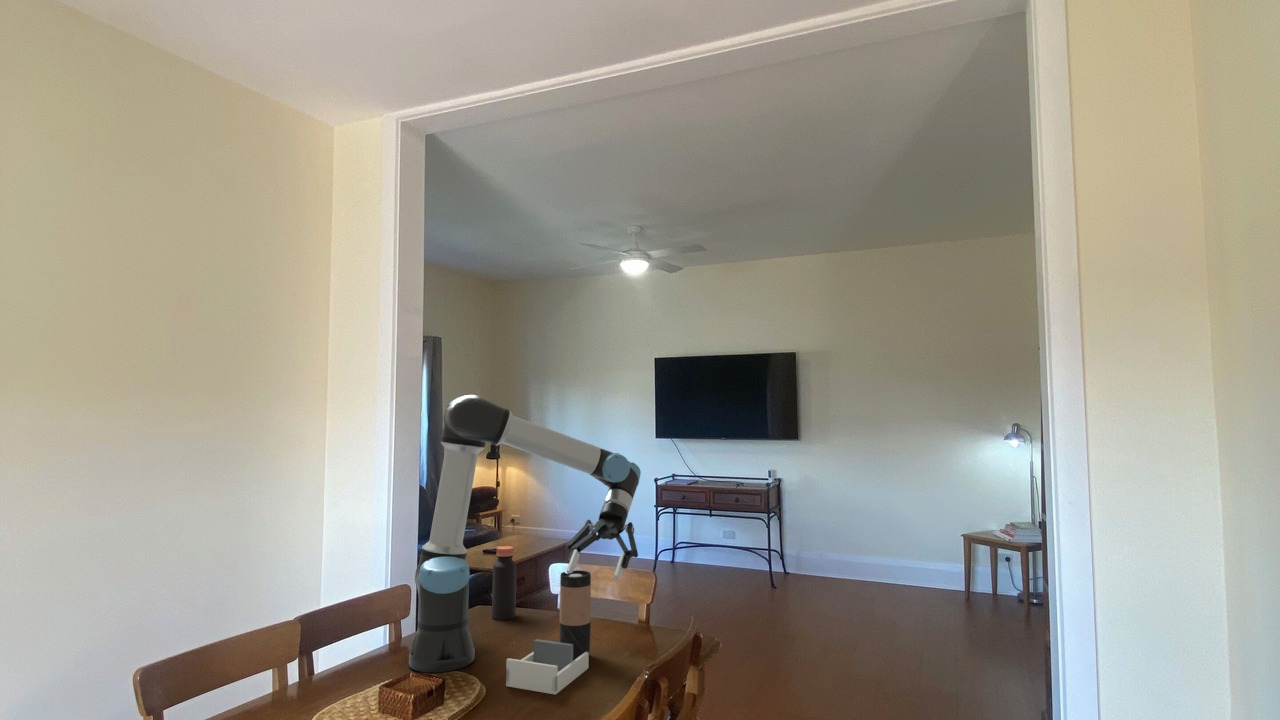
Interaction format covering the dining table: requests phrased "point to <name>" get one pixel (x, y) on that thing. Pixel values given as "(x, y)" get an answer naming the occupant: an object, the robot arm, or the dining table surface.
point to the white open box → (543, 674)
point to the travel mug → (575, 610)
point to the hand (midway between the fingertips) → (592, 576)
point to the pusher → (553, 653)
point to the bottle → (504, 585)
